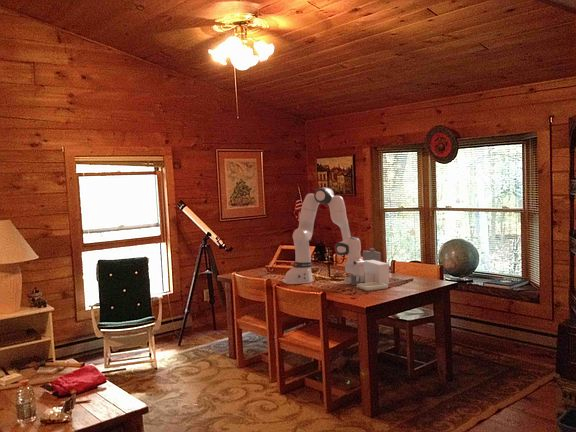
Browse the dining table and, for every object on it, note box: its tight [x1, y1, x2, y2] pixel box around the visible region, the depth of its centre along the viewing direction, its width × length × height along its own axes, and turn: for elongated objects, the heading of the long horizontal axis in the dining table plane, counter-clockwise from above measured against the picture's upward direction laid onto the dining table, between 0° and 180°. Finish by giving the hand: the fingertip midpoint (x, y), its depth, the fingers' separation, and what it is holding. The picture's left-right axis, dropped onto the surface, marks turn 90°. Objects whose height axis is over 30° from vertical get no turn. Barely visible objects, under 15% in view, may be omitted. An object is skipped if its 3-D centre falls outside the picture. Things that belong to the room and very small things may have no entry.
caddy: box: [343, 274, 361, 286], centre depth 377 cm, size 11×5×6 cm, turn 114°
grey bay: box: [360, 260, 390, 285], centre depth 384 cm, size 15×20×14 cm
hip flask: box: [362, 247, 382, 262], centre depth 412 cm, size 16×4×20 cm, turn 43°
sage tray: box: [356, 282, 389, 292], centre depth 365 cm, size 17×12×2 cm
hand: (354, 280), depth 378 cm, fingers closed on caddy, 5 cm apart
